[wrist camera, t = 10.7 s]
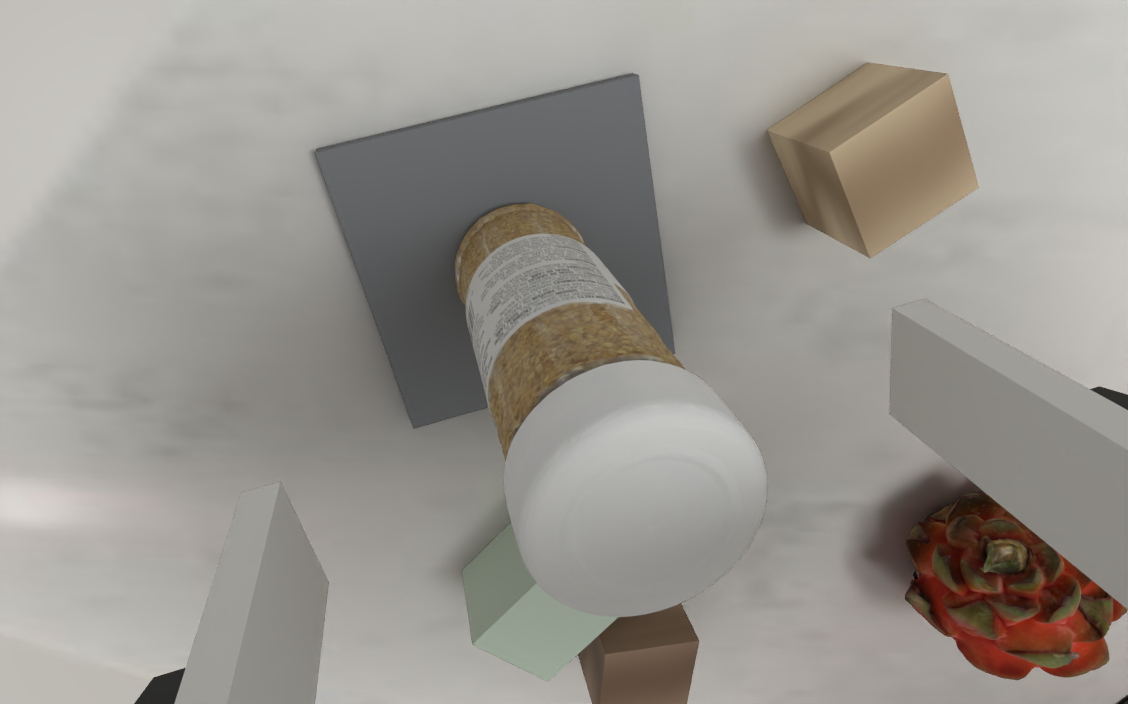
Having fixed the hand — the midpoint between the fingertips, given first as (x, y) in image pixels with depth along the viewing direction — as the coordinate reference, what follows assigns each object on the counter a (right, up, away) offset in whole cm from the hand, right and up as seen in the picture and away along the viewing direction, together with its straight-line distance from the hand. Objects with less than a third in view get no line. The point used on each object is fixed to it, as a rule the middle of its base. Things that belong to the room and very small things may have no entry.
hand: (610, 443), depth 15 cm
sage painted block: (-2, -7, +15) cm, 17 cm away
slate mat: (-3, +5, +9) cm, 11 cm away
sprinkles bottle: (-3, +5, +9) cm, 11 cm away
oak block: (+9, +9, +10) cm, 16 cm away
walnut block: (+2, -10, +18) cm, 21 cm away
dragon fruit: (+19, -7, +21) cm, 29 cm away
